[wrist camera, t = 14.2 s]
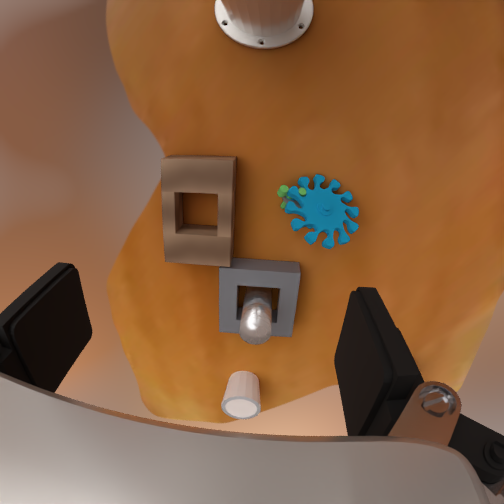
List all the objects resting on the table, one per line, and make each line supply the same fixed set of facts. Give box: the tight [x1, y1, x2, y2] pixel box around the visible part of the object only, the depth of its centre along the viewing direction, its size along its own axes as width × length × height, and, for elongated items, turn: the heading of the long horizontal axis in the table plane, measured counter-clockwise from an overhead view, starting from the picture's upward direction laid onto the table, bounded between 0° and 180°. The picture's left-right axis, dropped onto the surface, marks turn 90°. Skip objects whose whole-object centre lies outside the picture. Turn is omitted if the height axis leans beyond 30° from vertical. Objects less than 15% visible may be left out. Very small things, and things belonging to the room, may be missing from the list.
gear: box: [277, 174, 359, 249], centre depth 40 cm, size 11×6×10 cm
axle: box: [239, 286, 272, 344], centre depth 44 cm, size 4×4×10 cm
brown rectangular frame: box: [161, 155, 237, 267], centre depth 41 cm, size 14×9×4 cm, turn 177°
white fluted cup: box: [222, 371, 261, 419], centre depth 53 cm, size 7×7×7 cm
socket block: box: [219, 258, 301, 337], centre depth 46 cm, size 11×11×4 cm
